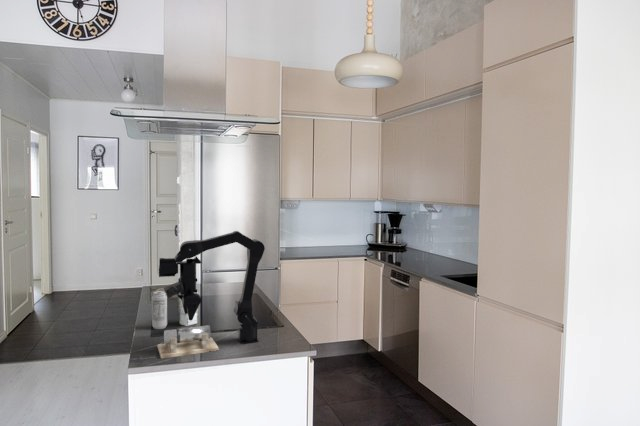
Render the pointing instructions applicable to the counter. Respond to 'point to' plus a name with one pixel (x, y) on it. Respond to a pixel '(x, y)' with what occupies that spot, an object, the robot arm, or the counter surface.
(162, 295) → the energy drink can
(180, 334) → the metal tube
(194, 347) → the collar stand
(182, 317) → the syrup box
